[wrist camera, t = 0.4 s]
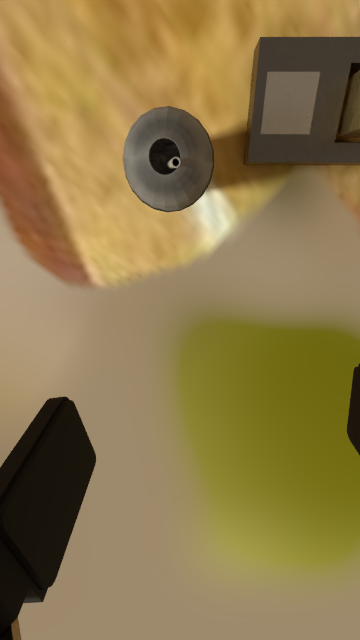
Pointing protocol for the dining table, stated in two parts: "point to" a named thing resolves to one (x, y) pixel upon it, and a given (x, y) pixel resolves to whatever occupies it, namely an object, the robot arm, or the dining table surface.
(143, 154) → the beverage cup
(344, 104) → the brass block
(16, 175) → the dining table surface
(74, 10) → the dining table surface
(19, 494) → the robot arm
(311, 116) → the dark grey flat block
